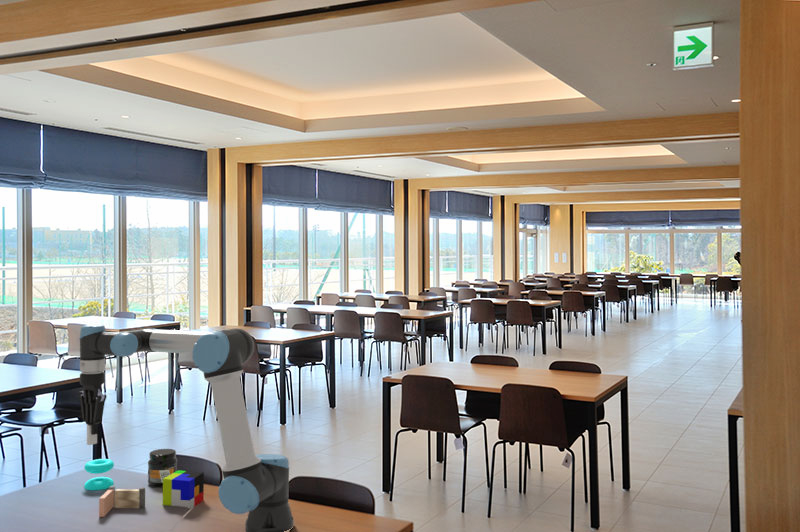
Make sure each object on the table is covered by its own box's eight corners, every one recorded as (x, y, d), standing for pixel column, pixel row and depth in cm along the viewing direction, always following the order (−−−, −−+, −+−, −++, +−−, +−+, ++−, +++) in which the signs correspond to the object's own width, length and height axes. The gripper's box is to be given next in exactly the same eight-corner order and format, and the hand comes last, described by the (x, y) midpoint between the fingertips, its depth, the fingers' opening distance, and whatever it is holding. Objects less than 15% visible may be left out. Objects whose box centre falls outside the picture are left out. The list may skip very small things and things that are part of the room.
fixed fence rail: (146, 507, 234) (146, 487, 234) (143, 509, 232) (143, 489, 232) (116, 506, 234) (117, 487, 234) (114, 508, 232) (114, 489, 232)
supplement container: (167, 488, 255) (167, 456, 255) (141, 486, 258) (142, 454, 258) (182, 480, 266) (182, 449, 266) (158, 478, 268) (158, 447, 268)
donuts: (119, 459, 258) (100, 466, 248) (119, 486, 258) (100, 494, 248) (98, 456, 261) (78, 463, 252) (98, 483, 261) (78, 491, 252)
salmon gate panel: (110, 505, 234) (110, 485, 234) (115, 505, 234) (115, 485, 234) (98, 516, 223) (98, 496, 223) (104, 516, 224) (104, 496, 223)
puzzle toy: (189, 510, 234) (189, 481, 234) (162, 507, 236) (162, 478, 236) (203, 500, 244) (203, 472, 243) (177, 498, 246) (177, 470, 245)
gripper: (70, 371, 227) (70, 443, 227) (92, 375, 219) (92, 449, 219) (92, 368, 233) (91, 438, 233) (114, 372, 225) (113, 444, 225)
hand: (92, 443), depth 226 cm, fingers closed
